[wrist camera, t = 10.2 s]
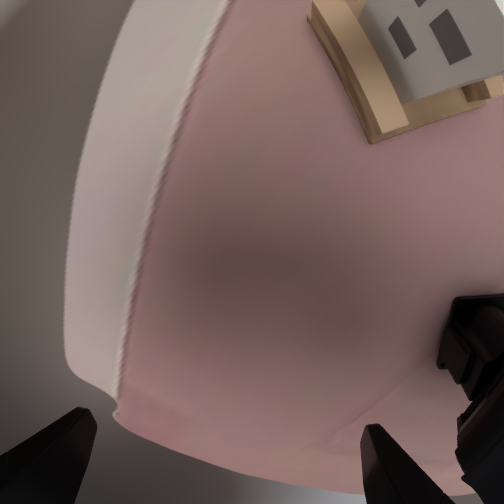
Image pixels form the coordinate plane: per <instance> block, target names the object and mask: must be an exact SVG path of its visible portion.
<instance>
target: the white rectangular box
mask: <svg viewBox="0 0 504 504" xmlns="http://www.w3.org/2000/svg"><path fill="white" fill-rule="evenodd" d="M358 22H359V24H360V25H361V27H362V29H363V31H364V32H365V34H366V36H367V37H368V39H369V41H370V43H371V45H372V46H373V48H374V50H375V52H376V54H377V56H378V58H379V59H380V61H381V63H382V65H383V67H384V69H385V71H386V73H387V75H388V77H389V79H390V82H391V84H392V86H393V88H394V90H395V92H396V94H397V97H398V99H399V101H400V103H401V105H403V104H406V103H410V102H413V101H416V100H419V99H423V98H426V97H429V96H433V95H436V94H439V93H443V92H446V91H450V90H453V89H456V88H459V87H462V86H466V85H469V84H472V83H476V82H479V81H482V80H486V79H489V78H493V77H496V76H500V75H504V0H366V3H365V5H364V7H363V9H362V11H361V13H360V15H359V18H358Z"/></svg>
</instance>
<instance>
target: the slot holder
mask: <svg viewBox="0 0 504 504" xmlns="http://www.w3.org/2000/svg"><path fill="white" fill-rule="evenodd" d="M365 3H366V0H355V1H351V2H347V3H346V2H345V0H312V12H311V13H310V14H307V20H308V22H309V24H310V25H311V27H312V29H313V30H314V32H315V34H316V35H317V37H318V39H319V41H320V42H321V44H322V46H323V48H324V50H325V51H326V53H327V55H328V57H329V59H330V61H331V62H332V64H333V66H334V68H335V70H336V72H337V74H338V76H339V78H340V80H341V82H342V84H343V86H344V88H345V90H346V92H347V94H348V96H349V98H350V100H351V102H352V104H353V107H354V109H355V111H356V113H357V115H358V118H359V120H360V122H361V124H362V127H363V129H364V131H365V134H366V136H367V138H368V141H369V143H370V144H373V143H376V142H379V141H381V140H384V139H387V138H389V137H392V136H395V135H398V134H400V133H403V132H406V131H409V130H412V129H414V128H417V127H420V126H423V125H426V124H429V123H432V122H435V121H438V120H441V119H444V118H447V117H450V116H453V115H456V114H459V113H462V112H465V111H468V110H471V109H475V108H478V107H481V106H484V105H486V102H485V99H489V98H493V97H496V96H500V95H504V81H503V78H502V76H501V75H500V76H496V77H493V78H489V79H486V80H482V81H479V82H476V83H472V84H469V85H466V86H462V87H459V88H456V89H453V90H450V91H446V92H443V93H439V94H436V95H433V96H429V97H426V98H423V99H419V100H416V101H413V102H410V103H406V104H403V105H401V103H400V101H399V99H398V97H397V94H396V92H395V90H394V88H393V86H392V84H391V82H390V79H389V77H388V75H387V73H386V71H385V69H384V67H383V65H382V63H381V61H380V59H379V58H378V56H377V54H376V52H375V50H374V48H373V46H372V45H371V43H370V41H369V39H368V37H367V36H366V34H365V32H364V31H363V29H362V27H361V25H360V24H359V22H358V18H359V15H360V13H361V11H362V9H363V7H364V5H365Z"/></svg>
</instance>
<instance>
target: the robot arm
mask: <svg viewBox="0 0 504 504" xmlns="http://www.w3.org/2000/svg"><path fill="white" fill-rule="evenodd" d="M459 303H461V304H460V305H459V306H458V304H459ZM442 363H443V364H442ZM436 365H437V367H438V369H448V370H449V372H450V373H451V375H452V377H453V379H454V381H455V383H456V384H461V386H462V388H463V390H464V392H465V393H466V395H467V397H468V399H469V401H472V403H471V404H470V405H469V407H468V408H467V409H466V410H465V412H464V413H462V414H461V415H460V416H459V417H458V418H457V428H458V435H457V446H458V447H457V448H456V450H455V455H456V458H457V461H458V463H459V465H460V467H461V469H462V471H463V472H464V473H465V474H464V475H463V476H462V477H461V479H462V481H464V482H465V483H466V484H468V485H469V486H471V487H472V488H473V489H474V490H475V492H476V493H477V494H478V495H479V496H480V498H481V500H482V501H483V503H484V504H504V294H500V295H486V296H470V297H458V298H456V299H455V300H454V302H453V305H452V309H451V313H450V317H449V321H448V324H447V326H446V329H445V332H444V336H443V339H442V343H441V346H440V350H439V357H438V360H437V364H436ZM96 432H97V423H96V421H95V419H94V417H93V415H92V413H91V411H90V410H89V409H87V408H84V407H76V408H75V409H73V410H72V411H70V412H69V413H67V414H66V415H64V416H62V417H61V418H59V419H58V420H56V421H55V422H53V423H52V424H50V425H48V426H47V427H45V428H44V429H42V430H41V431H39V432H37V433H36V434H34V435H33V436H31V437H30V438H28V439H27V440H25V441H23V442H22V443H20V444H18V445H17V446H15V447H14V448H12V449H10V450H9V451H8V452H5V453H4V454H2V455H1V456H0V504H74V503H75V500H76V497H77V494H78V491H79V488H80V486H81V483H82V480H83V477H84V474H85V472H86V469H87V466H88V463H89V459H90V456H91V451H92V447H93V443H94V440H95V436H96ZM360 449H361V460H362V473H363V486H364V492H365V497H366V502H367V504H455V503H454V502H453V501H452V500H451V499H450V498H449V497H448V496H447V495H446V494H445V493H443V491H442V490H441V489H440V488H439V487H438V486H437V485H436V483H435V482H434V481H433V480H432V479H431V478H430V477H429V476H428V475H427V474H426V473H425V472H424V471H423V470H422V469H421V468H420V467H419V466H418V465H417V464H416V462H415V461H414V460H413V459H412V458H411V457H410V456H409V455H408V454H407V453H406V452H405V451H404V450H403V449H402V448H401V447H400V445H399V444H398V443H397V442H396V441H395V440H394V439H393V438H392V437H391V436H390V435H389V434H388V433H387V432H386V430H385V429H384V428H383V427H382V426H381V425H380V424H369V425H366V426H365V429H364V432H363V435H362V438H361V441H360Z"/></svg>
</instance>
